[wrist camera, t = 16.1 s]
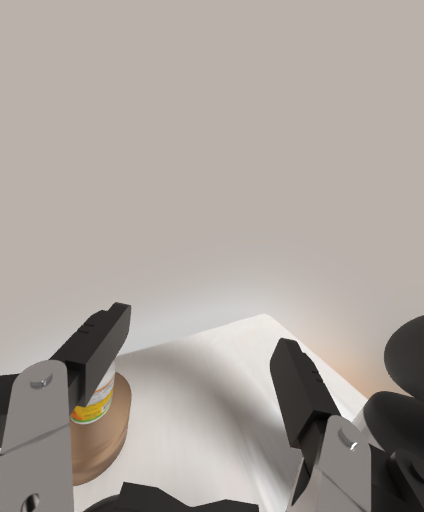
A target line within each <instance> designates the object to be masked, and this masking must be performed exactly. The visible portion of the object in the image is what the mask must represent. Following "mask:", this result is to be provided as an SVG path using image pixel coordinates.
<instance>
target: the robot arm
mask: <svg viewBox="0 0 424 512" xmlns="http://www.w3.org/2000/svg"><path fill="white" fill-rule="evenodd" d="M130 315H131V305H127V304H123V303H118V302H115V303H114V304H113V305H112V306H111V308H110V309H109V310H108V311H104V310H101V311H99V312H97V313H95V314H93V315H91V316H90V318H88V319H87V321H86V322H85V323H84V324H83V325H82V326H81V327H80V328H79V329H78V330H77V332H75V333H74V334H73V335H72V336H71V337H70V338H69V339H68V340H67V341H66V342H65V344H63V345H62V347H61V348H60V349H59V350H58V351H57V352H56V353H55V354H54V355H53V356H52V357H51V358H50V359H49V360H46V361H42V362H39V363H36V364H34V365H32V366H30V367H28V368H27V369H25V370H24V371H23V372H22V373H20V374H12V375H2V376H0V448H1V452H0V512H74V500H73V480H72V459H71V439H70V423H69V417H70V415H71V413H72V412H73V410H74V409H75V407H76V406H80V407H85V408H86V406H87V404H88V402H89V401H90V399H91V397H92V396H93V394H94V392H95V391H96V389H97V387H98V386H99V384H100V382H101V381H102V379H103V377H104V376H105V374H106V372H107V370H108V369H109V367H110V365H111V364H112V362H113V360H114V359H115V357H116V355H117V354H118V352H119V350H120V348H121V347H122V345H123V344H124V342H125V340H126V338H127V335H128V332H129V325H130ZM384 362H385V366H386V369H387V371H388V374H389V375H390V377H391V378H392V379H393V381H394V382H395V383H396V384H397V385H398V386H400V387H401V388H402V389H403V390H404V391H406V392H407V393H409V394H410V395H412V396H413V397H409V396H405V395H402V394H398V393H394V392H387V391H381V392H377V393H375V394H374V395H372V396H371V397H370V399H369V400H368V401H367V403H366V404H365V406H364V407H363V408H362V410H361V411H360V412H359V414H358V415H357V416H356V418H355V419H354V421H353V422H352V423H351V422H350V421H349V420H347V419H345V418H343V417H342V416H341V414H340V412H339V410H338V408H337V406H336V405H335V403H334V401H333V399H332V397H331V395H330V393H329V391H328V389H327V387H326V385H325V383H323V380H322V378H321V376H320V374H319V372H318V370H317V368H316V366H315V364H314V362H313V361H312V360H311V359H310V358H309V357H308V356H307V355H306V353H302V351H301V349H300V347H299V345H298V343H297V341H294V340H290V339H285V338H280V340H279V341H278V344H277V346H276V348H275V350H274V353H273V355H272V357H271V360H270V373H271V376H272V380H273V384H274V387H275V391H276V395H277V399H278V402H279V406H280V410H281V414H282V417H283V421H284V425H285V428H286V432H287V436H288V440H289V443H290V447H293V448H298V449H301V450H302V453H303V457H302V459H301V461H300V464H299V468H298V471H297V475H296V478H295V481H294V485H293V488H292V492H291V495H290V498H289V502H288V505H287V509H286V511H285V512H424V316H420V317H417V318H415V319H413V320H411V321H409V322H407V323H406V324H404V325H403V326H401V327H400V328H399V329H398V330H397V331H396V332H395V333H394V334H393V335H392V336H391V338H390V339H389V341H388V343H387V344H386V347H385V351H384ZM414 397H415V398H414ZM83 512H259V507H258V505H256V504H250V503H244V502H239V501H233V500H227V499H225V500H221V501H217V502H213V503H209V504H205V505H200V506H196V507H189V506H187V505H185V504H184V503H182V502H180V501H179V500H177V499H175V498H174V497H172V496H170V495H169V494H167V493H165V492H164V491H162V490H161V489H159V488H157V487H151V486H145V485H139V484H133V483H128V482H123V485H122V488H121V491H120V494H118V495H114V496H111V497H108V498H105V499H103V500H101V501H99V502H97V503H95V504H93V505H92V506H90V507H89V508H87V509H86V510H85V511H83Z"/></svg>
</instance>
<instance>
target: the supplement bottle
mask: <svg viewBox="0 0 424 512" xmlns="http://www.w3.org/2000/svg"><path fill="white" fill-rule="evenodd" d="M114 378H115V362H114V360H113V362H112V364H111V365H110V367H109V369H108V370H107V372H106V374H105V376H104V377H103V379H102V381H101V382H100V384H99V386H98V387H97V389H96V391H95V392H94V394H93V396H92V397H91V399H90V401H89V402H88V404H87V406H86V408H85V407H80V406H76V407H75V409H74V410H73V412H72V413H71V415H70V418H71V420H72V421H73V422H75V423H77V424H89V423H92V422H94V421H96V420H98V419H99V418H101V417H102V416H103V415H104V414H105V413H106V412H107V410H108V409H109V407H110V404H111V401H112V395H113V386H114Z"/></svg>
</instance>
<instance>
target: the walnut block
mask: <svg viewBox="0 0 424 512" xmlns="http://www.w3.org/2000/svg"><path fill="white" fill-rule="evenodd" d="M130 405H131V389H130V386H129V384H128V382H127V380H126V379H125V378H124V377H123V376H122V375H120V374H118V373H116V372H115V378H114V386H113V395H112V401H111V404H110V407H109V409H108V410H107V412H106V413H105V414H104V415H103V416H102V417H101V418H99V419H98V420H96V421H94V422H92V423H89V424H77V423H75V422H73V421H72V420H71V418H70V417H69V423H70V439H71V459H72V480H73V486H78V485H82V484H84V483H87V482H89V481H91V480H93V479H95V478H96V477H98V476H99V475H101V474H102V473H103V472H104V471H105V470H106V469H107V468H108V467H109V466H110V465H111V464H112V463H113V462H114V460H115V459H116V458H117V456H118V455H119V453H120V451H121V449H122V447H123V445H124V442H125V439H126V434H127V428H128V420H129V413H130Z"/></svg>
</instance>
